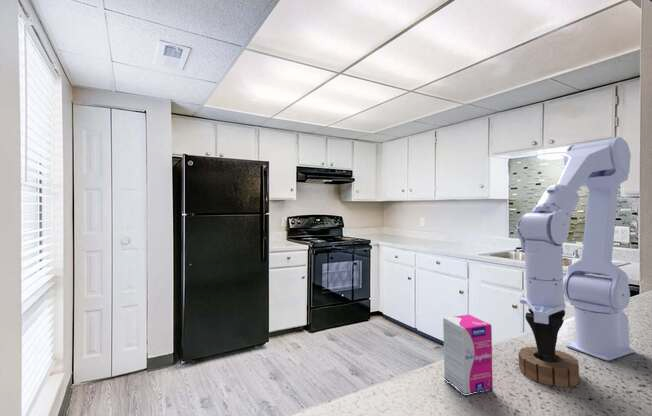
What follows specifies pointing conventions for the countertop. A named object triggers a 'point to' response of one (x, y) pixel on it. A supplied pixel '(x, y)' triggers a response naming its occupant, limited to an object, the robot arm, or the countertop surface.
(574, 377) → the walnut bead
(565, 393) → the countertop surface
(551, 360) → the metal peg
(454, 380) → the supplement box
